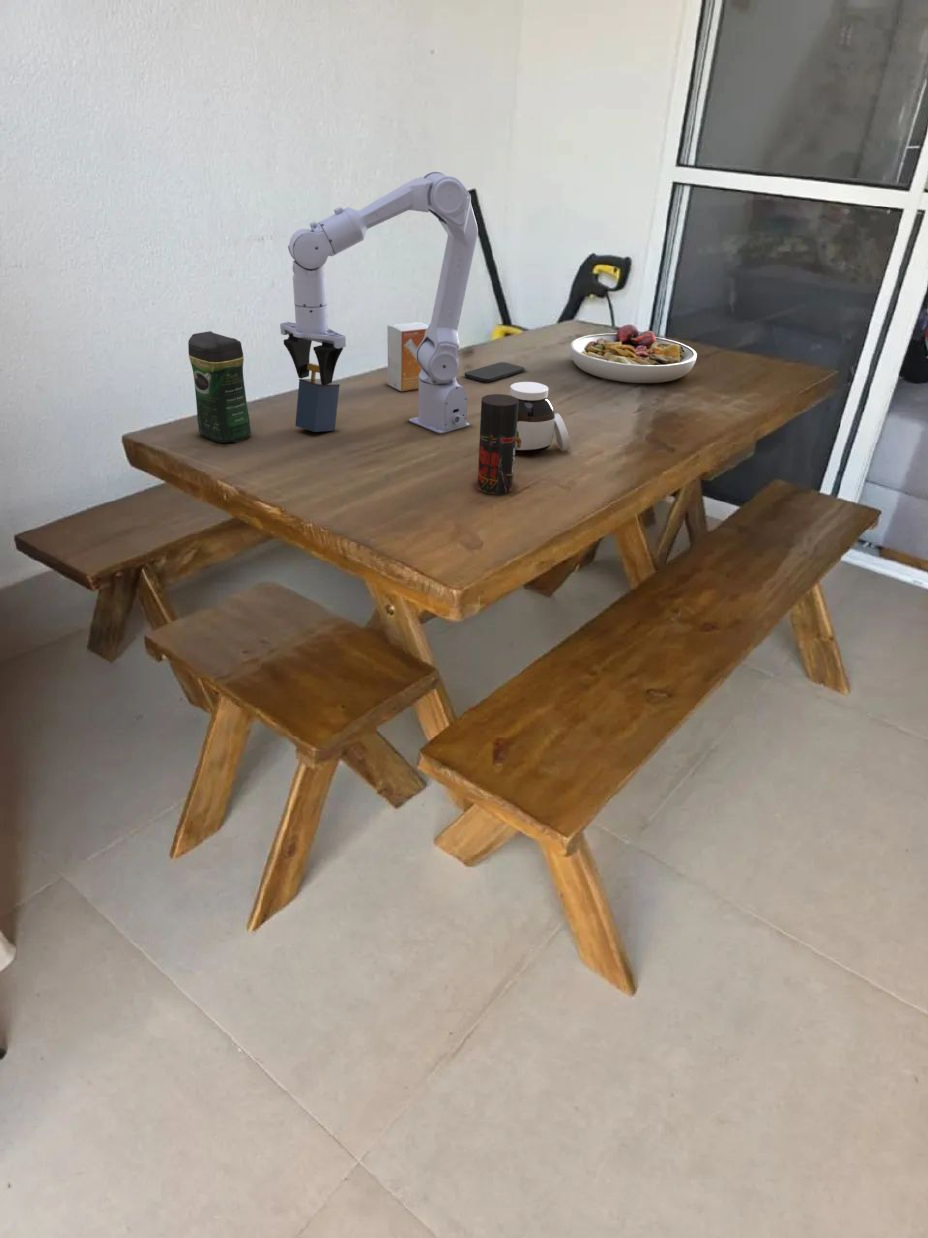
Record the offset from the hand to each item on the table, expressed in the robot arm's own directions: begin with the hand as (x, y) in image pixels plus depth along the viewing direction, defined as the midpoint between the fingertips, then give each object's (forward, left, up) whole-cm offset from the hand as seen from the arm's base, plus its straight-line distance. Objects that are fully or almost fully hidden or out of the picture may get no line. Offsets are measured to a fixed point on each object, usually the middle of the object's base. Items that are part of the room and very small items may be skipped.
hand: (315, 380), depth 158 cm
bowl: (-11, -85, -10) cm, 86 cm away
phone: (+6, -55, -10) cm, 56 cm away
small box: (+11, -33, -10) cm, 36 cm away
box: (+1, -3, -4) cm, 5 cm away
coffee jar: (+8, +15, -10) cm, 20 cm away
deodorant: (-41, -7, -10) cm, 42 cm away
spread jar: (-33, -26, -10) cm, 43 cm away
